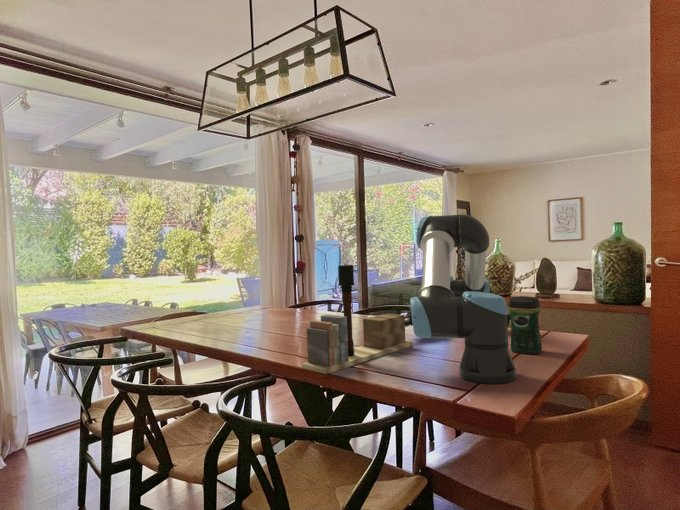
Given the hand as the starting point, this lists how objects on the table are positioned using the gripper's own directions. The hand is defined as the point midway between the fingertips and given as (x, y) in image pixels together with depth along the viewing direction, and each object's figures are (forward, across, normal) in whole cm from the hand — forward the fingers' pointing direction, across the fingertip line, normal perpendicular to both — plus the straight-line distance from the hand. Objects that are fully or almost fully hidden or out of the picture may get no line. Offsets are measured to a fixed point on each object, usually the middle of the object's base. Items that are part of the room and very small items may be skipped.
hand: (397, 324), depth 167 cm
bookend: (+8, 0, -6) cm, 10 cm away
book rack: (+21, 0, -7) cm, 23 cm away
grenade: (+27, 0, -6) cm, 28 cm away
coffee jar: (-15, -42, -8) cm, 45 cm away
